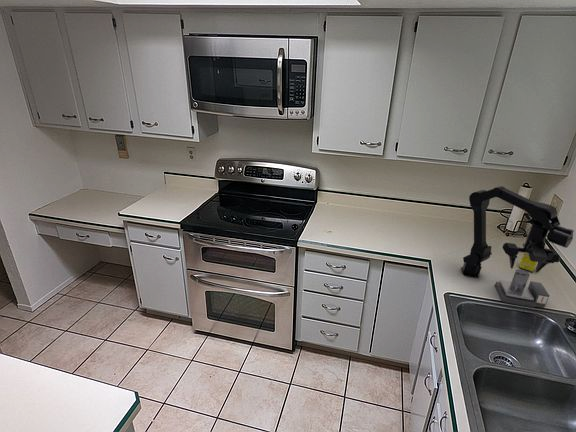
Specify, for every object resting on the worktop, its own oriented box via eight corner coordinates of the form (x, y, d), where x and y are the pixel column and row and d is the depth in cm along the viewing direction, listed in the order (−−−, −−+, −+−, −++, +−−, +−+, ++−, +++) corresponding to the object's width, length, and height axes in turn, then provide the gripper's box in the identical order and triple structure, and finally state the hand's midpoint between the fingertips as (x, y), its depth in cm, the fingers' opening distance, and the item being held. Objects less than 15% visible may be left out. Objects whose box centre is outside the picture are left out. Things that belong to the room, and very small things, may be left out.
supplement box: (520, 263, 174) (527, 244, 170) (534, 268, 171) (542, 248, 166) (518, 268, 170) (525, 248, 166) (532, 273, 167) (540, 253, 162)
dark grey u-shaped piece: (502, 301, 146) (506, 289, 143) (494, 285, 156) (498, 273, 154) (545, 309, 142) (551, 297, 140) (534, 292, 153) (539, 280, 150)
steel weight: (511, 291, 146) (517, 274, 143) (508, 284, 151) (514, 268, 147) (525, 293, 145) (531, 277, 142) (521, 286, 150) (527, 270, 146)
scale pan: (506, 295, 145) (506, 293, 145) (499, 281, 154) (500, 279, 154) (533, 300, 143) (534, 298, 143) (525, 286, 152) (525, 284, 151)
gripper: (516, 241, 133) (504, 276, 139) (573, 250, 129) (557, 285, 135) (508, 229, 142) (496, 262, 149) (560, 236, 138) (546, 270, 145)
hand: (523, 270), depth 144 cm, fingers open, 9 cm apart
